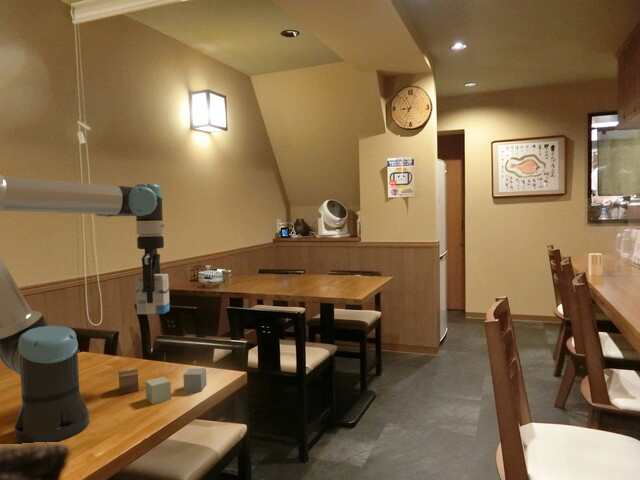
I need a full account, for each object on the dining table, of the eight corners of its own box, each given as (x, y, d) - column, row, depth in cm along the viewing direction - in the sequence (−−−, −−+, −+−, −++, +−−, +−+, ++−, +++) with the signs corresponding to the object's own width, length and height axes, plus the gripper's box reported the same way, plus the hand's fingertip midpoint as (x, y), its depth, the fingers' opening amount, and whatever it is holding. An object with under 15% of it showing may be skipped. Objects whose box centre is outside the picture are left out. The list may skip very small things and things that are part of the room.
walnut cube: (138, 391, 130) (137, 374, 130) (119, 394, 128) (118, 376, 128) (138, 385, 135) (137, 368, 134) (119, 388, 133) (118, 371, 133)
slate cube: (201, 391, 129) (200, 374, 128) (184, 391, 129) (183, 374, 128) (206, 385, 134) (205, 368, 133) (189, 385, 134) (189, 368, 133)
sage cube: (171, 399, 124) (170, 381, 123) (152, 404, 120) (151, 386, 120) (164, 394, 127) (163, 376, 127) (146, 398, 124) (145, 380, 124)
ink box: (170, 310, 141) (169, 273, 141) (163, 314, 136) (162, 275, 136) (144, 310, 142) (142, 273, 141) (136, 314, 137) (134, 275, 136)
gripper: (156, 236, 129) (160, 317, 130) (168, 234, 148) (171, 305, 149) (128, 237, 128) (132, 318, 129) (144, 234, 147) (147, 306, 148)
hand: (153, 311), depth 139 cm, fingers closed on ink box, 6 cm apart
